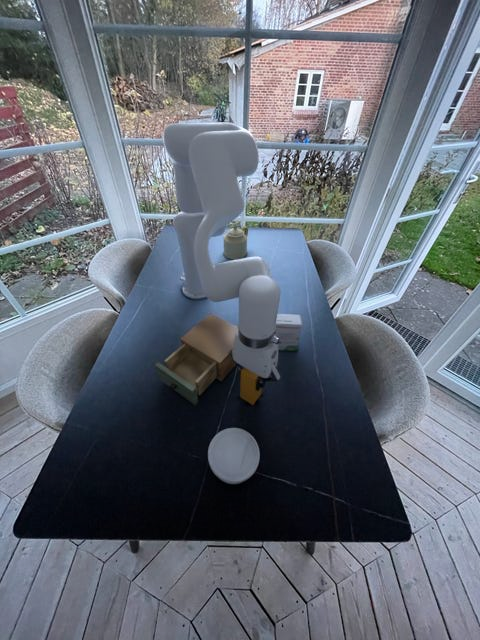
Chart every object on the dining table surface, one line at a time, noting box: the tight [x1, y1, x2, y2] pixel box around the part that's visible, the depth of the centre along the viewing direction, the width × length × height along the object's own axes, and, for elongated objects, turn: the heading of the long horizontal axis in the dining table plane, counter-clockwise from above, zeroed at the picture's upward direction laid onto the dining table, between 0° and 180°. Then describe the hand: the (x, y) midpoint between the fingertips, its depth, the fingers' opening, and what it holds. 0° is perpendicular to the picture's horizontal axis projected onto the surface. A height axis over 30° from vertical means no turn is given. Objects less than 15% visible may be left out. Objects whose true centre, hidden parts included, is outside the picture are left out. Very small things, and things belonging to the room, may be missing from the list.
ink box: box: [275, 313, 304, 351], centre depth 83 cm, size 8×5×12 cm, turn 87°
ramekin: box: [207, 427, 261, 485], centre depth 59 cm, size 11×11×5 cm
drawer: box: [154, 343, 219, 406], centre depth 74 cm, size 14×14×7 cm
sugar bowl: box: [223, 223, 249, 260], centre depth 125 cm, size 15×11×15 cm
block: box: [239, 367, 263, 406], centre depth 68 cm, size 4×4×12 cm
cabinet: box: [179, 312, 238, 382], centre depth 80 cm, size 14×15×9 cm
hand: (251, 381), depth 68 cm, fingers closed on block, 4 cm apart
